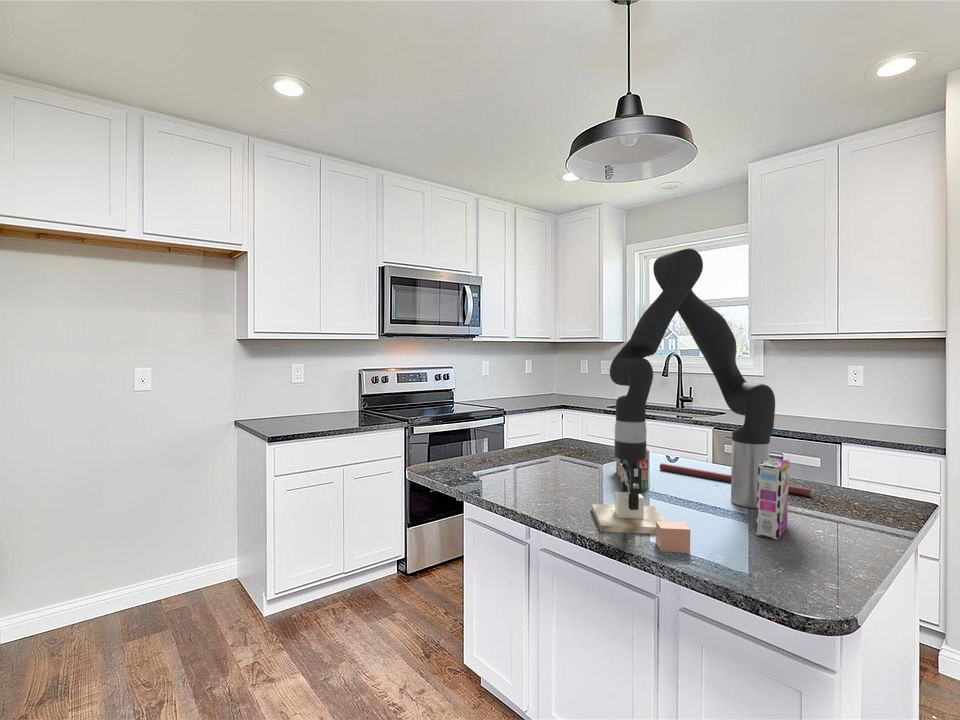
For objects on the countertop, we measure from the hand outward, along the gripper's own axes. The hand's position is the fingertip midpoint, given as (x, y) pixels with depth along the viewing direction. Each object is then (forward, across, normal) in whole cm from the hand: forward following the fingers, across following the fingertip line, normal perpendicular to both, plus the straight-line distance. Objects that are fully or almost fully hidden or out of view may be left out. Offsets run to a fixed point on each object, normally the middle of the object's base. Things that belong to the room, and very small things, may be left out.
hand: (629, 504), depth 127 cm
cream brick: (+3, 0, 0) cm, 3 cm away
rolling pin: (+5, +41, -39) cm, 57 cm away
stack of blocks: (+5, +40, -8) cm, 41 cm away
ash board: (+4, 0, 0) cm, 4 cm away
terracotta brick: (+4, -16, -6) cm, 18 cm away
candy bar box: (+5, -4, -32) cm, 32 cm away
